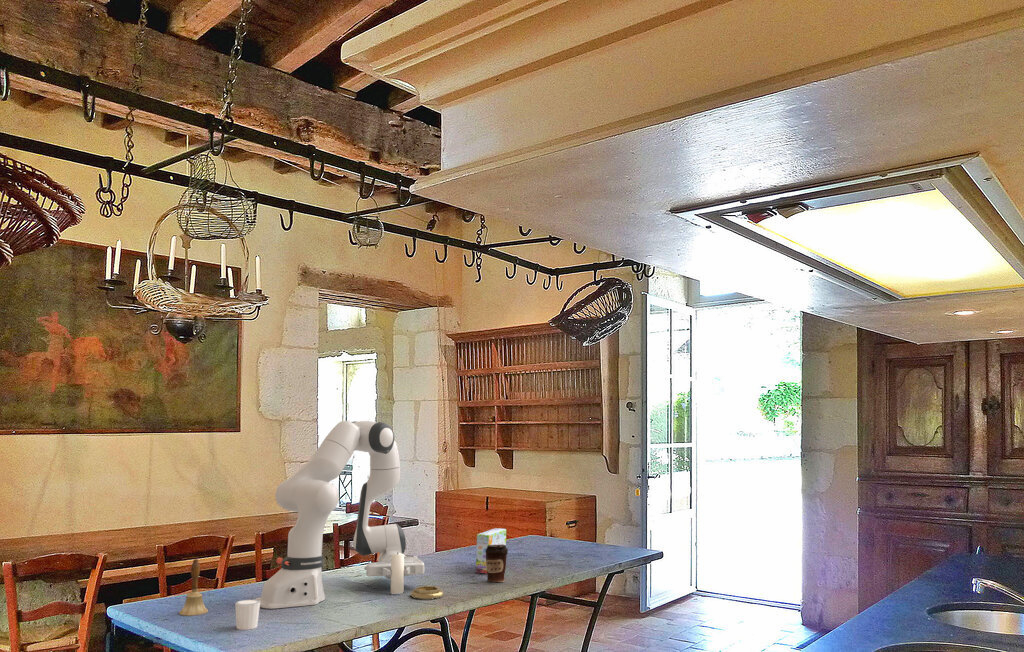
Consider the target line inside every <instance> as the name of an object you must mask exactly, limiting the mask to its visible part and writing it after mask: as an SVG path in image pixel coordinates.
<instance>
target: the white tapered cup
mask: <svg viewBox="0 0 1024 652" xmlns="http://www.w3.org/2000/svg"><path fill="white" fill-rule="evenodd" d="M234 605H235V607H234V608H235V625H236V627H235V628H236V630H241V631H244V630H245V631H246V630H253V629H256V628H257V627H258V623H259V616H260V615H259V614H260V608H261V607H260V601H259V600H255V599H243V600H242V599H241V600H237V601H236V602H235V604H234Z"/></svg>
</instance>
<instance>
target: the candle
mask: <svg viewBox="0 0 1024 652" xmlns="http://www.w3.org/2000/svg"><path fill="white" fill-rule="evenodd" d="M404 555H405V554H404V553H403V554H401V553H398V552H397V553H396V554H391V579H390V594H391V593H394V594H396V593H403V592H404V587H405V586H404V585H405V583H404V581H405V579H404V577H405V576H404ZM403 594H404V593H403Z"/></svg>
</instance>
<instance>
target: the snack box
mask: <svg viewBox="0 0 1024 652" xmlns="http://www.w3.org/2000/svg"><path fill="white" fill-rule="evenodd" d="M488 545H506V546H507V529H506V528H497V527H495V528H492V529H489V530H486V531H483V532H480V533H477V534H476V554H475V555H476V557H475V558H476V559H475V561H476V562H475V573H476V574H480V573H485V574H484V575H487V566H486V552H485V550H486V548H487V546H488Z"/></svg>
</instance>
